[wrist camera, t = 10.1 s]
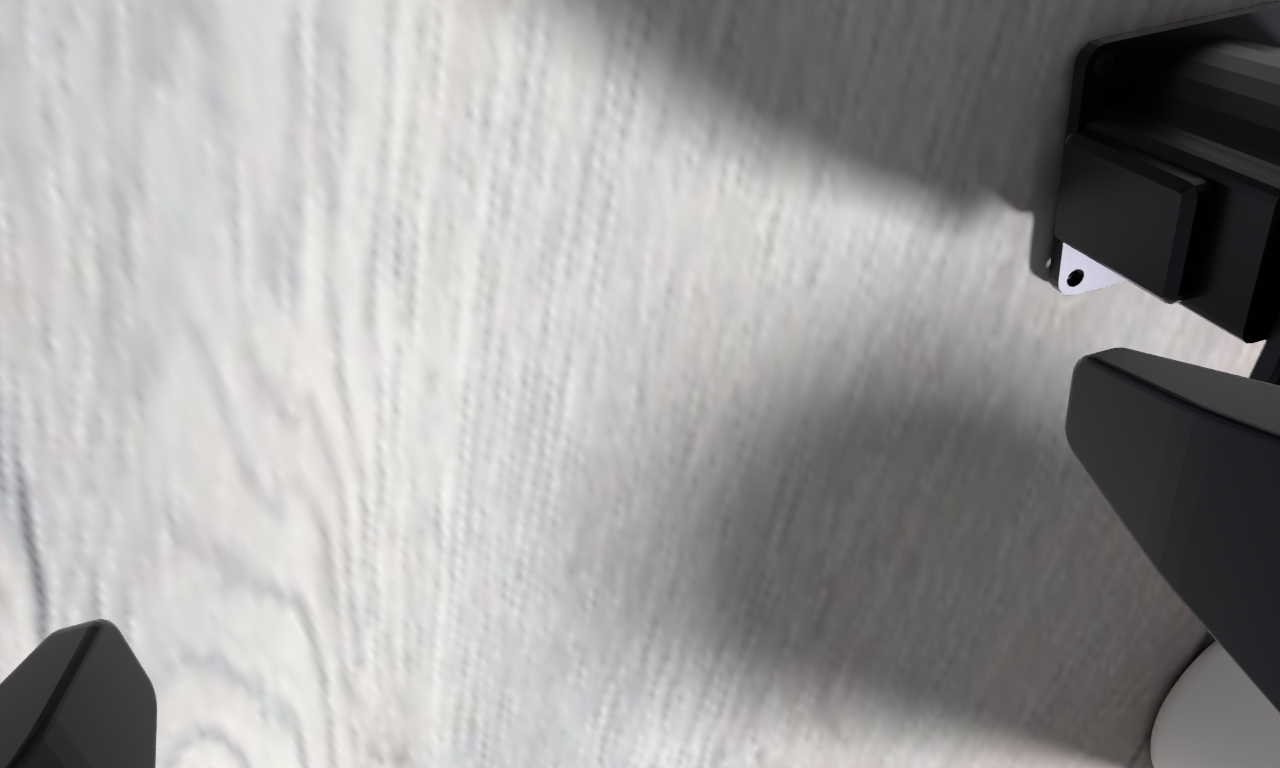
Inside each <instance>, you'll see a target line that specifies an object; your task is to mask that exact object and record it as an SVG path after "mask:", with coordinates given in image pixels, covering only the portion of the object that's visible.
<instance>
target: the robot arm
mask: <svg viewBox="0 0 1280 768" xmlns="http://www.w3.org/2000/svg"><path fill="white" fill-rule="evenodd" d="M1101 56H1103V61H1102V64H1101V66H1100V67H1099V68H1098V70H1096V71H1095V65H1096V62H1097V60H1098V59H1099V58H1100V57H1101ZM1072 271H1074V273H1073V275H1072V276H1071V277H1070V278H1069V279H1067V278H1068V275H1069V274H1070V273H1071V272H1072ZM1049 281H1050V284H1051V285H1052V287H1054V288H1055V289H1057V290H1058V291H1060V292H1061V293H1063V294H1065V295H1075V294H1079V293H1083V292H1086V291H1090V290H1094V289H1098V288H1102V287H1106V286H1110V285H1114V284H1118V283H1122V282H1126V281H1129V282H1131V283H1133V284H1134V285H1136V286H1138V287H1139V288H1141V289H1143V290H1145V291H1146V292H1148V293H1150V294H1151V295H1153V296H1155V297H1156V298H1158V299H1160V300H1161V301H1163V302H1165V303H1168V304H1173V303H1178V304H1180V305H1182V306H1183V307H1185V308H1187V309H1189V310H1190V311H1192V312H1194V313H1195V314H1197V315H1199V316H1201V317H1202V318H1204V319H1206V320H1207V321H1209V322H1211V323H1213V324H1214V325H1216V326H1218V327H1219V328H1221V329H1223V330H1224V331H1226V332H1228V333H1230V334H1231V335H1233V336H1235V337H1236V338H1238V339H1240V340H1242V341H1243V342H1245V343H1255V342H1258V341H1262V340H1266V342H1265V344H1264V346H1263V348H1262V350H1261V352H1260V354H1259V356H1258V358H1257V361H1256V363H1255V365H1254V367H1253V369H1252V371H1251V373H1250V375H1249V377H1248V378H1246V377H1242V376H1238V375H1233V374H1229V373H1225V372H1221V371H1217V370H1213V369H1209V368H1205V367H1201V366H1197V365H1192V364H1188V363H1184V362H1180V361H1176V360H1172V359H1168V358H1164V357H1160V356H1156V355H1151V354H1147V353H1143V352H1139V351H1135V350H1131V349H1127V348H1113V349H1109V350H1105V351H1101V352H1097V353H1094V354H1090V355H1086V356H1084V357H1082V358H1081V359H1079V360H1078V362H1077V363H1076V365H1075V367H1074V369H1073V374H1072V380H1071V387H1070V394H1069V401H1068V408H1067V415H1066V422H1065V430H1066V437H1067V440H1068V443H1069V445H1070V448H1071V449H1072V451H1073V453H1074V454H1075V456H1076V457H1077V459H1078V460H1079V462H1080V463H1081V464H1082V466H1083V467H1084V469H1085V470H1086V472H1087V473H1088V474H1089V476H1090V477H1091V479H1092V480H1093V482H1094V483H1095V484H1096V486H1097V487H1098V489H1099V490H1100V492H1101V493H1102V494H1103V496H1104V497H1105V499H1106V500H1107V502H1108V503H1109V504H1110V506H1111V507H1112V509H1113V510H1114V512H1115V513H1116V514H1117V516H1118V517H1119V519H1120V520H1121V522H1122V523H1123V524H1124V526H1125V527H1126V529H1127V530H1128V532H1129V533H1130V534H1131V536H1132V537H1133V539H1134V540H1135V542H1136V543H1137V544H1138V546H1139V547H1140V549H1141V550H1142V552H1143V553H1144V554H1145V556H1146V557H1147V558H1148V560H1149V561H1150V562H1151V564H1152V565H1153V566H1154V568H1155V569H1156V570H1157V572H1158V573H1159V574H1160V575H1161V577H1162V578H1163V579H1164V580H1165V581H1166V583H1167V584H1168V585H1169V586H1170V588H1171V589H1172V590H1173V591H1174V592H1175V594H1176V595H1177V596H1178V597H1179V598H1180V599H1181V600H1182V602H1183V603H1184V604H1185V605H1186V606H1187V607H1188V609H1189V610H1190V611H1191V612H1192V613H1193V614H1194V616H1195V617H1196V618H1197V619H1198V620H1199V621H1200V622H1201V624H1202V625H1203V626H1204V627H1205V628H1206V629H1207V631H1208V632H1209V633H1210V634H1211V635H1212V636H1213V638H1214V639H1215V640H1216V641H1217V642H1218V643H1219V644H1220V646H1221V647H1222V648H1223V649H1224V650H1225V651H1226V653H1227V654H1228V655H1229V656H1230V657H1231V658H1232V660H1233V661H1234V662H1235V663H1236V664H1237V665H1238V666H1239V668H1240V669H1241V670H1242V671H1243V672H1244V673H1245V675H1246V676H1247V677H1248V678H1249V679H1250V680H1251V682H1252V683H1253V684H1254V685H1255V686H1256V687H1257V688H1258V690H1259V691H1260V692H1261V693H1262V694H1263V695H1264V697H1265V698H1266V699H1267V700H1268V701H1269V702H1270V704H1271V705H1272V706H1273V707H1274V708H1275V709H1276V710H1277V712H1278V713H1279V714H1280V1H1276V2H1272V3H1267V4H1262V5H1257V6H1253V7H1248V8H1243V9H1238V10H1234V11H1229V12H1224V13H1220V14H1215V15H1210V16H1205V17H1201V18H1196V19H1191V20H1186V21H1182V22H1177V23H1172V24H1167V25H1163V26H1158V27H1153V28H1149V29H1144V30H1139V31H1134V32H1130V33H1125V34H1120V35H1115V36H1111V37H1106V38H1101V39H1096V40H1094V41H1092V42H1089V43H1088V44H1087V45H1086V46H1084V47H1083V48H1082V49H1081V51H1080V52H1079V54H1078V56H1077V58H1076V61H1075V65H1074V72H1073V80H1072V89H1071V97H1070V105H1069V114H1068V122H1067V130H1066V139H1065V144H1064V151H1063V159H1062V168H1061V176H1060V184H1059V193H1058V201H1057V209H1056V218H1055V226H1054V239H1053V248H1052V256H1051V264H1050V273H1049ZM156 731H157V701H156V695H155V691H154V688H153V685H152V683H151V681H150V679H149V677H148V676H147V674H146V672H145V671H144V669H143V668H142V666H141V664H140V663H139V661H138V659H137V658H136V656H135V655H134V653H133V651H132V650H131V648H130V647H129V645H128V643H127V642H126V640H125V639H124V637H123V635H122V634H121V632H120V631H119V629H118V628H117V627H116V626H115V625H114V624H113V623H112V622H110V621H108V620H104V619H97V620H93V621H89V622H85V623H82V624H78V625H74V626H70V627H67V628H63V629H60V630H57V631H55V632H53V633H52V634H50V635H49V636H48V637H47V638H46V639H45V640H44V641H43V642H42V643H41V644H40V645H39V646H38V647H37V648H36V649H35V650H34V651H33V652H32V653H31V654H30V655H29V656H28V657H27V658H26V659H25V660H24V661H23V662H22V663H21V664H20V665H19V666H18V667H17V668H16V669H15V670H14V671H13V672H12V673H11V674H10V675H9V676H8V677H7V678H6V679H5V680H4V681H3V682H2V683H1V684H0V768H155V763H156Z"/></svg>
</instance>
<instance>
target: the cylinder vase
mask: <svg viewBox="0 0 1280 768" xmlns="http://www.w3.org/2000/svg"><path fill="white" fill-rule="evenodd" d="M1150 750H1151V759H1152V764H1153V767H1154V768H1280V714H1279V713H1278V712H1277V710H1276V709H1275V708H1274V707H1273V706H1272V705H1271V704H1270V702H1269V701H1268V700H1267V699H1266V698H1265V697H1264V695H1263V694H1262V693H1261V692H1260V691H1259V690H1258V688H1257V687H1256V686H1255V685H1254V684H1253V683H1252V682H1251V680H1250V679H1249V678H1248V677H1247V676H1246V675H1245V673H1244V672H1243V671H1242V670H1241V669H1240V668H1239V666H1238V665H1237V664H1236V663H1235V662H1234V661H1233V660H1232V658H1231V657H1230V656H1229V655H1228V654H1227V653H1226V651H1225V650H1224V649H1223V648H1222V647H1221V646H1220V644H1219V643H1218V642H1217V641H1216V640H1215V641H1214V642H1213V643H1212V644H1211V645H1210V646H1208V647H1207V648H1206V649H1205V650H1204V651H1203V652H1202V653H1201V654H1200V655H1199V656H1198V657H1197V658H1196V659H1195V660H1194V661H1193V662H1192V664H1191V665H1190V666H1189V667H1188V668H1187V669H1186V670H1185V672H1184V673H1183V674H1182V675H1181V677H1180V678H1179V679H1178V681H1177V682H1176V683H1175V685H1174V686H1173V687H1172V689H1171V690H1170V692H1169V694H1168V695H1167V697H1166V699H1165V700H1164V702H1163V704H1162V706H1161V708H1160V710H1159V713H1158V715H1157V718H1156V720H1155V723H1154V727H1153V731H1152V736H1151V745H1150Z"/></svg>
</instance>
